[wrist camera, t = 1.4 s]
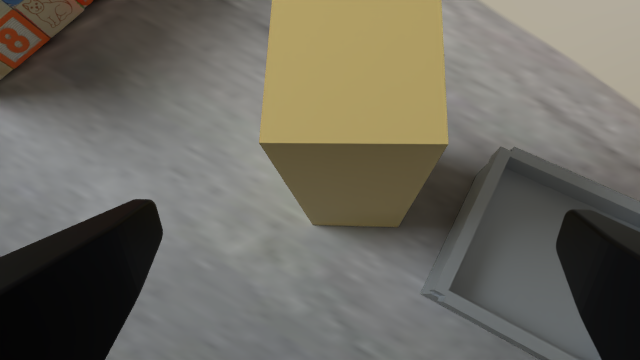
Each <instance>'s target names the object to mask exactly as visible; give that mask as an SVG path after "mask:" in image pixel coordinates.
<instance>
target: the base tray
mask: <svg viewBox="0 0 640 360" xmlns="http://www.w3.org/2000/svg"><path fill="white" fill-rule="evenodd" d="M570 209H588V210H593V211H595V212H597V213H599V214H602V215H604V216H606V217H608V218H610V219H612V220H615V221H617V222H619V223H621V224H623V225H626V226H628V227H630V228H632V229H634V230H637V231H639V232H640V201H638V200H635V199H633V198H631V197H628V196H626V195H624V194H622V193H619V192H617V191H615V190H612V189H610V188H608V187H605V186H603V185H601V184H599V183H596V182H594V181H592V180H589V179H587V178H585V177H583V176H580V175H578V174H576V173H573V172H571V171H569V170H567V169H564V168H562V167H560V166H557V165H555V164H553V163H550V162H548V161H546V160H544V159H541V158H539V157H537V156H534V155H532V154H530V153H528V152H525V151H523V150H521V149H518V148H516V147H514V148H512V149H511V150H507V149H505V148H503V147H500V148H499V149H498V150H497V151H496V152H495V153H494V154H493V155H492V157H491V159H490V161H489V163H488V164H487V165H486V166H485V167H484V168H483V169H482V170H481V171H480V172H479V173H478V174H477V175H476V177H475V180H474V182H473V184H472V186H471V188H470V190H469V192H468V194H467V196H466V199H465V201H464V203H463V205H462V207H461V209H460V211H459V213H458V215H457V218H456V220H455V222H454V224H453V226H452V228H451V230H450V232H449V234H448V237H447V239H446V241H445V243H444V245H443V247H442V249H441V251H440V253H439V256H438V258H437V260H436V262H435V264H434V266H433V268H432V270H431V272H430V275H429V277H428V279H427V281H426V283H425V285H424V287H423V289H422V291H421V295H423V296H425V297H427V298H429V299H431V300H432V301H434V302H436V303H438V304H440V305H442V306H443V307H445V308H447V309H449V310H451V311H453V312H454V313H456V314H458V315H460V316H462V317H464V318H465V319H467V320H469V321H471V322H473V323H475V324H476V325H478V326H480V327H482V328H484V329H486V330H487V331H489V332H491V333H493V334H495V335H497V336H498V337H500V338H502V339H504V340H506V341H508V342H509V343H511V344H513V345H515V346H517V347H519V348H520V349H522V350H524V351H526V352H528V353H530V354H531V355H533V356H535V357H537V358H539V359H541V360H601V358H600V356H599V354H598V352H597V350H596V348H595V346H594V344H593V342H592V340H591V338H590V336H589V334H588V332H587V330H586V328H585V325H584V323H583V321H582V319H581V317H580V315H579V312H578V310H577V307H576V305H575V302H574V299H573V296H572V293H571V291H570V288H569V285H568V282H567V280H566V277H565V274H564V271H563V269H562V266H561V263H560V260H559V258H558V255H557V252H556V240H557V237H558V234H559V231H560V227H561V224H562V221H563V218H564V215H565V213H566V212H567V211H568V210H570Z"/></svg>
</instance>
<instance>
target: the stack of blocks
mask: <svg viewBox="0 0 640 360" xmlns="http://www.w3.org/2000/svg"><path fill="white" fill-rule="evenodd" d="M92 2H93V0H0V80H1V79H2V78H3V77H4V76H6V75H7V74H8V73H9V72H10V71H12V70H13V69H15V68H17V67H18V66H19V65H20V64H21V63H23V62H24V61H25V60H26V59H27V58H29V57H30V56H31V55H32V54H33V53H34V52H36V51H37V50H38V49H39V48H40V47H42V46H43V45H44V44H45V43H46V42H47V41H49V39H50V38H52V37H53V36H55V35H56V34H57V33H58V32H60V31H61V30H62V29H63V28H64V27H65V26H67V25H68V24H69V23H70V22H71V21H73V20H74V19H75V18H76V17H77V16H78V15H80V14H81V13H82V12H83V11H84V9H85V7H87V6H88V5H89V4H91V3H92Z"/></svg>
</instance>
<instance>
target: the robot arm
mask: <svg viewBox="0 0 640 360" xmlns="http://www.w3.org/2000/svg"><path fill="white" fill-rule="evenodd" d="M162 236H163V229H162V225H161V222H160V218H159V214H158V211H157V207H156V204H155V203H154V202H153V201H152V200H149V199H135V200H132V201H129V202H127V203H125V204H122V205H120V206H118V207H115V208H113V209H111V210H108V211H106V212H104V213H101V214H99V215H97V216H95V217H92V218H90V219H88V220H85V221H83V222H81V223H78V224H76V225H74V226H71V227H69V228H67V229H64V230H62V231H60V232H57V233H55V234H53V235H51V236H48V237H46V238H44V239H41V240H39V241H37V242H34V243H32V244H30V245H27V246H25V247H23V248H20V249H18V250H16V251H13V252H11V253H9V254H7V255H4V256H2V257H0V360H105V359H106V357H107V355H108V353H109V351H110V349H111V347H112V345H113V344H114V342H115V340H116V338H117V336H118V334H119V332H120V330H121V329H122V327H123V325H124V323H125V321H126V319H127V317H128V315H129V314H130V312H131V310H132V308H133V306H134V304H135V302H136V300H137V298H138V296H139V294H140V292H141V290H142V287H143V285H144V282H145V280H146V278H147V275H148V273H149V270H150V268H151V265H152V263H153V260H154V258H155V255H156V253H157V250H158V248H159V245H160V243H161V240H162ZM556 252H557V255H558V258H559V260H560V263H561V266H562V269H563V271H564V274H565V277H566V280H567V282H568V285H569V288H570V291H571V293H572V296H573V299H574V302H575V305H576V307H577V310H578V312H579V315H580V317H581V319H582V321H583V323H584V325H585V328H586V330H587V332H588V334H589V336H590V338H591V340H592V342H593V344H594V346H595V348H596V350H597V352H598V354H599V356H600V358H601V360H640V232H639V231H637V230H634V229H632V228H630V227H628V226H626V225H623V224H621V223H619V222H617V221H615V220H612V219H610V218H608V217H606V216H604V215H602V214H599V213H597V212H595V211H593V210H588V209H570V210H568V211H567V212H566V213H565V215H564V218H563V221H562V224H561V227H560V231H559V234H558V237H557V240H556Z"/></svg>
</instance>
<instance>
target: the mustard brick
mask: <svg viewBox="0 0 640 360" xmlns="http://www.w3.org/2000/svg"><path fill="white" fill-rule="evenodd" d="M259 143H260V145H261V146H262V148H263V149H264V151H265V153H266V154H267V156H268V157H269V159H270V160H271V162H272V163H273V165H274V166H275V168H276V169H277V171H278V172H279V174H280V175H281V177H282V179H283V180H284V182H285V183H286V185H287V186H288V188H289V189H290V191H291V192H292V194H293V195H294V197H295V198H296V200H297V201H298V203H299V204H300V206H301V208H302V209H303V211H304V212H305V214H306V215H307V217H308V218H309V220H310V221H311V223H312V224H313V225H336V226H371V227H398V226H399V225H400V223H401V221H402V220H403V218H404V216H405V215H406V213H407V212H408V210H409V208H410V207H411V205H412V203H413V202H414V200H415V198H416V197H417V195H418V193H419V192H420V190H421V188H422V187H423V185H424V183H425V182H426V180H427V178H428V177H429V175H430V174H431V172H432V170H433V169H434V167H435V165H436V164H437V162H438V160H439V159H440V157H441V155H442V154H443V152H444V150H445V149H446V147H447V145H448V128H447V108H446V87H445V67H444V46H443V26H442V5H441V0H272V8H271V19H270V30H269V41H268V51H267V62H266V73H265V84H264V95H263V106H262V117H261V128H260V139H259Z"/></svg>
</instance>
